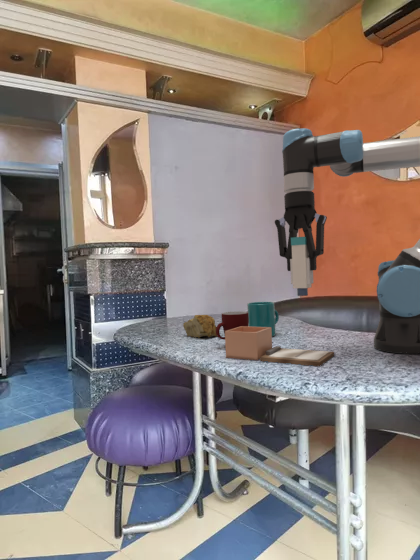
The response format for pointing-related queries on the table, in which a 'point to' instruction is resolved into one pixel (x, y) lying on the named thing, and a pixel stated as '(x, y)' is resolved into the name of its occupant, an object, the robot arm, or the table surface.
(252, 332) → the pen pot
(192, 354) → the table surface
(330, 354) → the open book
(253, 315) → the cup
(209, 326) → the rock
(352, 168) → the robot arm
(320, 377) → the table surface
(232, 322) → the mug
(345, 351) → the table surface
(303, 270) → the marker
